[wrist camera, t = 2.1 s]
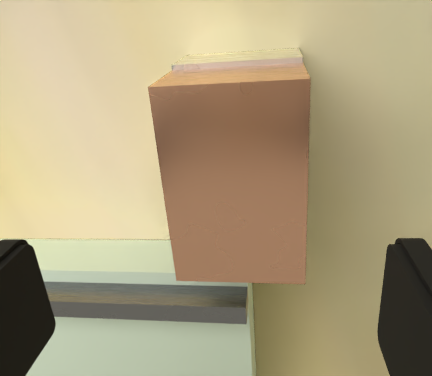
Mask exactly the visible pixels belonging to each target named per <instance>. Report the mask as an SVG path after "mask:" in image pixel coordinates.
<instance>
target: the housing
mask: <svg viewBox="0 0 432 376" xmlns="http://www.w3.org/2000/svg"><path fill="white" fill-rule="evenodd" d="M148 90H149V97H150V104H151V111H152V117H153V124H154V131H155V138H156V145H157V152H158V159H159V165H160V172H161V179H162V186H163V193H164V200H165V206H166V213H167V220H168V227H169V234H170V241H171V248H172V254H173V261H174V268H175V275H176V281H198V282H239V283H279V284H305V275H306V236H307V197H308V157H309V118H310V76H309V74H308V72H307V70H306V68H305V66H304V64H303V56H302V54H301V52H300V50H299V48H288V49H273V50H257V51H242V52H226V53H211V54H195V55H187V56H185V57H183V58H182V59H180V60H179V61H177V62H176V63H174V64H172V71H171V72H169V73H168V74H166V75H165V76H163V77H162V78H161V79H159V80H158V81H156V82H155V83H153V84H152V85H150V86H149V87H148Z"/></svg>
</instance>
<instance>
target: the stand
mask: <svg viewBox="0 0 432 376" xmlns="http://www.w3.org/2000/svg"><path fill="white" fill-rule="evenodd" d="M1 240H5V239H0V241H1ZM23 240H26V241H27V242H28V244H29V245H32V247H33V248H34V250H35V254H36V257H37V261H38V264H39V267H40V271H41V274H42V277H43V281H44V284H45V287H46V291H47V294H48V298H49V301H50V304H51V308H52V311H53V314H54V318H55V322H56V326H55V331H54V333H53V335H52V337H51V338H50V340H49V341H48V343H47V344H46V346H45V347H44V349H43V350H42V352H41V353H40V355H39V356H38V358H37V359H36V361H35V362H34V364H33V365H32V367H31V368H30V370H29V371H28V373H27V374H26V376H256V356H255V334H254V312H253V290H252V283H239V282H198V281H176V275H175V268H174V261H173V254H172V248H171V241H170V240H100V239H23Z"/></svg>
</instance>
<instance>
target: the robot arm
mask: <svg viewBox="0 0 432 376" xmlns="http://www.w3.org/2000/svg"><path fill="white" fill-rule="evenodd" d="M55 326H56V322H55V318H54V314H53V311H52V308H51V304H50V301H49V298H48V294H47V291H46V287H45V284H44V281H43V277H42V274H41V271H40V267H39V264H38V261H37V257H36V254H35V250H34V248H33V247H32V245H29V244H28V242H27V241H26V240H23V239H5V240H1V241H0V376H26V374H27V373H28V371H29V370H30V368H31V367H32V365H33V364H34V362H35V361H36V359H37V358H38V356H39V355H40V353H41V352H42V350H43V349H44V347H45V346H46V344H47V343H48V341H49V340H50V338H51V337H52V335H53V333H54V331H55ZM378 341H379V345H380V348H381V351H382V354H383V357H384V360H385V363H386V366H387V368H388V371H389V374H390V376H432V250H431V248H430V247H429V245H428V244H427V242H426V241H425V240H424V239H422V238H398V239H397V240H396V242H395V244H389V245H388V247H387V253H386V262H385V270H384V279H383V287H382V296H381V305H380V313H379V322H378Z"/></svg>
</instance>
